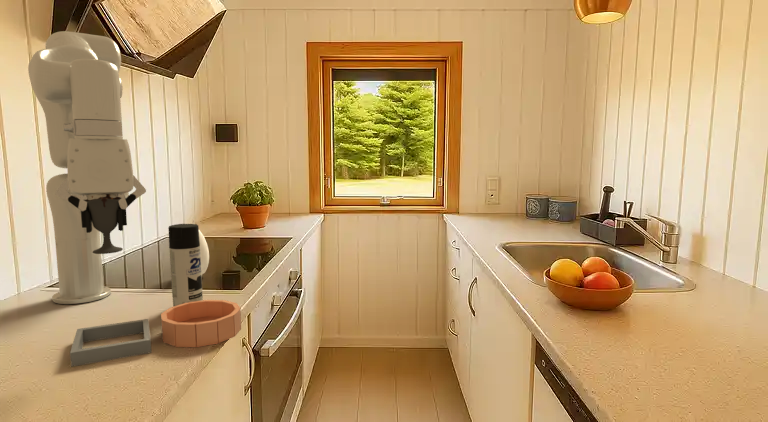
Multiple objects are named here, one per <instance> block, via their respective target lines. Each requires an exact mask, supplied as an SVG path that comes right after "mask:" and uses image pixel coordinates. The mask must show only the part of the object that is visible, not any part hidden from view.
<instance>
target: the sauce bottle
mask: <svg viewBox="0 0 768 422" xmlns="http://www.w3.org/2000/svg"><path fill="white" fill-rule="evenodd" d="M192 224H195V218H194V217H192ZM199 241H200V257H201V276H203V274H205V273H206V272H207V269H208V267H209V265H210V251H209V246H208V243H207V241H206V238H205V236H204V233H202V232H201V230H200V229H199Z"/></svg>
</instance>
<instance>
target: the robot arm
mask: <svg viewBox="0 0 768 422" xmlns="http://www.w3.org/2000/svg"><path fill="white" fill-rule="evenodd" d="M121 55H122V54H121V50H120V48H119V46H118V44H117V43H116V42H115V41H114V40H113V39H112V38H110V37H108V36H105V35H104V36H103V35H97V34H89V33H83V32H75V31H69V30H68V31H65V30H63V31H57V32H54V33H52V34H50V35H49V36H48V38H47V39H46V41H45V48H42V49H40V50H38V51H35V53H33V55H32V57H31V59H30V60H29V63H28V67H27V68H28V70H27V71H28V76H29V81H30V85H31V88H32V90H33V92H34V95H35V97H36V99H37V101H38V102H39V104H40V107H41V108H42V111H43V113H44V117H45V126H46V134H47V141H48V148H49V149H48V150H49V156H50V160H51V161H52V164H53V165H54V166H55V167H57V168H60V169H66V170H67V173H62V174H60V173H59V174H57V175H53V176H52V177H50V179H48V180H47V182H46V187H45V189H46V197H47V200H48V203H49V208H50V211H51V216H52V222H53V230H54V231H53V232H54V241H55V242H54V243H55V254H56V265H57V277H58V288H59V289H58V290H59V291H58V292H56V293H54V294H53V295H52V302H53V303H56V304H60V305H75V304H85V303H88V302H89V303H90V302H95V301H98V300H101V299H104V298H107V297H108V296H109V295H111V293H112V290H111V288H110V287H108V286H105V285H104V275H103V273H104V272H103V264H102V254H95V253H93V251H94V250H96V249H99V248H101V247H102V245H101V235H100V233H101V232H100V231H98V230H97V229H95V228H94V226H93V224H92V221H91V216H90V211H89V208H88V205H87V202H86V201H84V200H87V196H88V195H90V194H116V195H117V196H118V197H120V198H121V199H120V200H119V201H118V202H119V206H118V210H117V214H118V225H117V227H118V231H121V232H123V231H124V226H128V221H127V209H128V208H129V207H130V205H131V204H132V203H134V202H135V201H136V200H137V199H138V198H140V197H141V196H143V195H144V194H145V193H146V192H147V189H146V187H145V186H144V185H143V184H142V183H141V182H140V181H139V179H138V178H137V177H136V176H135V175H134V170H133V169H134V168H133V162H132V161H133V160H132V154H131V149H130V145H129V140H128V139H127V138H126V139H125V138H123V137H124V136H123V122H122V105H121V104H122V103H121V99H122V96H123V89H124V88H123V82H122V79H121V77H120V71H121V65H122V56H121ZM134 188H135V190H134V191H133V189H134ZM131 191H133V192H131ZM130 192H131V193H130ZM129 193H130V194H129Z"/></svg>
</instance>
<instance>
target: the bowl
mask: <svg viewBox="0 0 768 422" xmlns="http://www.w3.org/2000/svg"><path fill="white" fill-rule="evenodd" d="M241 312H242V310H241V307H240V305H239V304H238V303H237V302H233V301H229V300H225V299H203V300H201V301H194V302H188V303H184V304H180V305H177V306H174V307H173V306H170V307H169V308H168V309H166V310H164V311H163V312H161V313H160V325H161V337H162V343H164V344H166V345H170V346H172V347H176V348H198V347H199V348H201V347H204V346H205V347H206V346H210V345H211V346H212V345H216V344H217V345H218V344H220V343H223V342H225V341H228V340H230V339H233V338H235V337H236V336H237V335H238V334H239V332H240V331H241V330H242V314H241Z"/></svg>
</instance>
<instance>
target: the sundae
mask: <svg viewBox="0 0 768 422" xmlns="http://www.w3.org/2000/svg"><path fill="white" fill-rule="evenodd" d="M120 199H121V198H120V197H118V196H117V195H116V194H90V195H88V196H87V200H84V201H86V202H87V205H88V208H89V211H90V216H91V221H92V224H93V226H94V228H95V229H97V230H98V231H100V233H101V234H102V237H103V242H102V245H101V248H99V249H96V250H94V251H93V253H95V254H101V255H106V254H115V253H119V252H121V251H123V248H122V247H120V246H119V247H118V246H116V245H114V244H113V243H112V240H111V233H112V231H114V230H115V229H116V227H118V214H117V210H118V206H119V202H118V201H119V200H120Z"/></svg>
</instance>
